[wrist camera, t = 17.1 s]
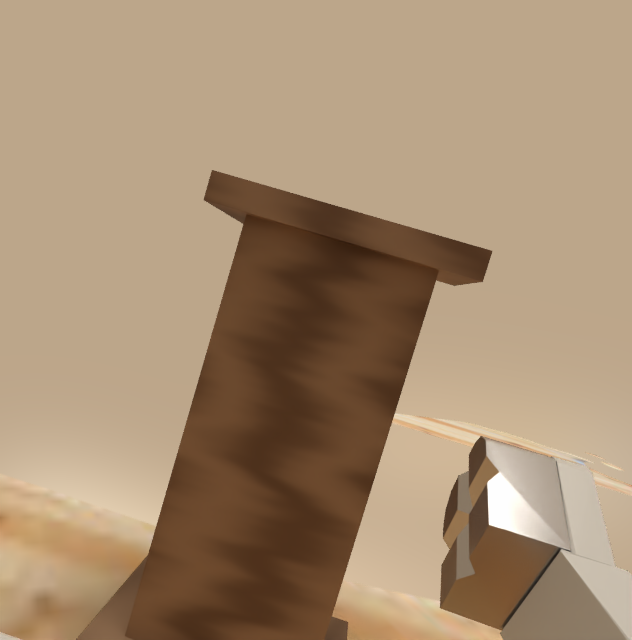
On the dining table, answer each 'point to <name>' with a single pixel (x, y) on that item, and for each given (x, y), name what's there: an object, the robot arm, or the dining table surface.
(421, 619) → the dining table surface
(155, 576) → the walnut stand
